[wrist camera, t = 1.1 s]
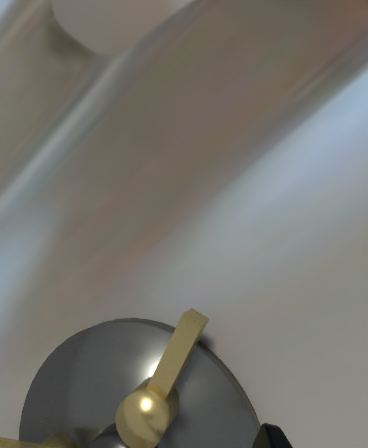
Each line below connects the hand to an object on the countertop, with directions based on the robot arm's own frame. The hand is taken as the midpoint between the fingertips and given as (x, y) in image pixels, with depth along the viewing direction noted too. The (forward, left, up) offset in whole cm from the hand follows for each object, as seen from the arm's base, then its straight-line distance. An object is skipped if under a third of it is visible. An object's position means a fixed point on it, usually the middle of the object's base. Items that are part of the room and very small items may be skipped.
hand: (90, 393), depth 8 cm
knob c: (-4, +3, -14) cm, 15 cm away
